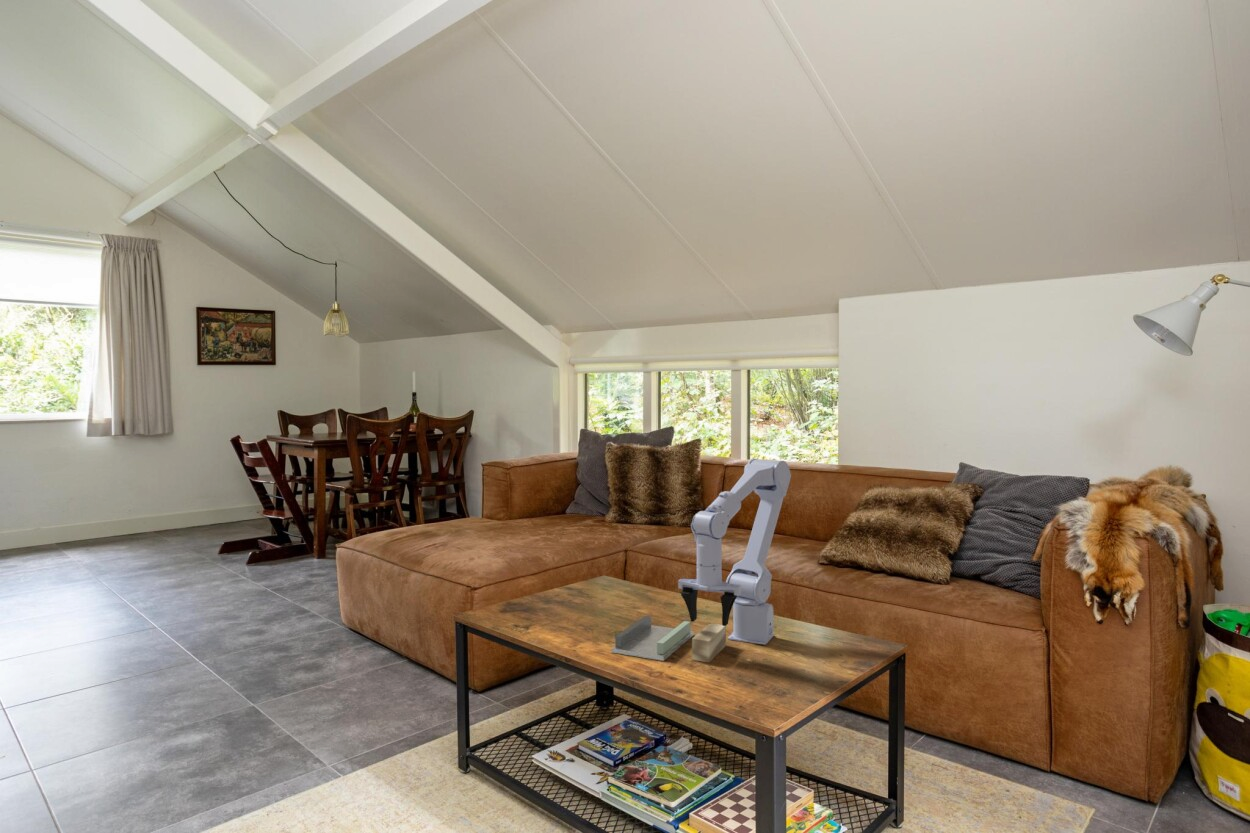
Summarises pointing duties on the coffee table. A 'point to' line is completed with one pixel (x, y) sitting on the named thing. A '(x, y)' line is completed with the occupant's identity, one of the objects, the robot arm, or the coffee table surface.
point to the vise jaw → (673, 637)
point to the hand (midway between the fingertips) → (709, 622)
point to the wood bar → (708, 642)
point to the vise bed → (645, 640)
